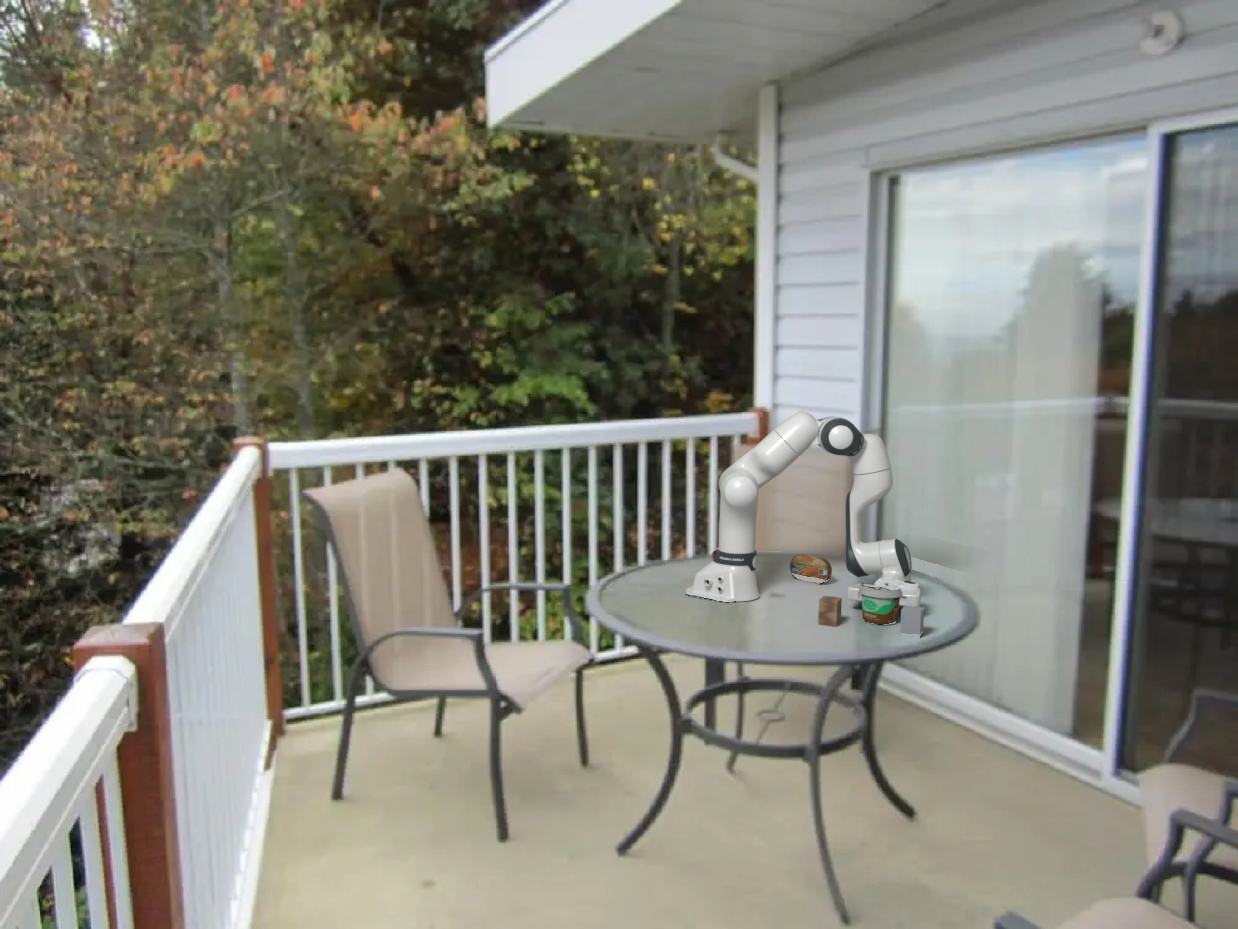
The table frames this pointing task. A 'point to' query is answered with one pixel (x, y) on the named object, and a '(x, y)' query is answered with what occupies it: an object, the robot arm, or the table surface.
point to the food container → (879, 604)
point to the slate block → (912, 620)
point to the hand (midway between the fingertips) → (878, 601)
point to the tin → (811, 567)
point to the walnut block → (829, 611)
